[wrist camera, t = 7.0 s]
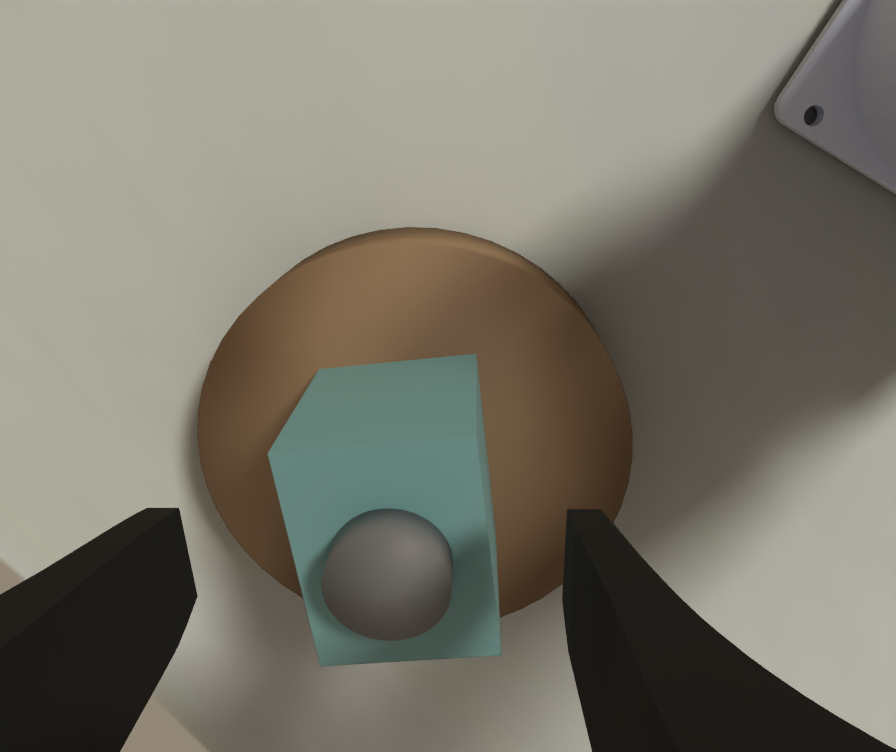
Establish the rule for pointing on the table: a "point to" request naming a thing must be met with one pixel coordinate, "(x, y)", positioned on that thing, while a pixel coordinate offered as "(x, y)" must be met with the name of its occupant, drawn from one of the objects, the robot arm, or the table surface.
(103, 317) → the table surface
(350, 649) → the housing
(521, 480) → the stand
